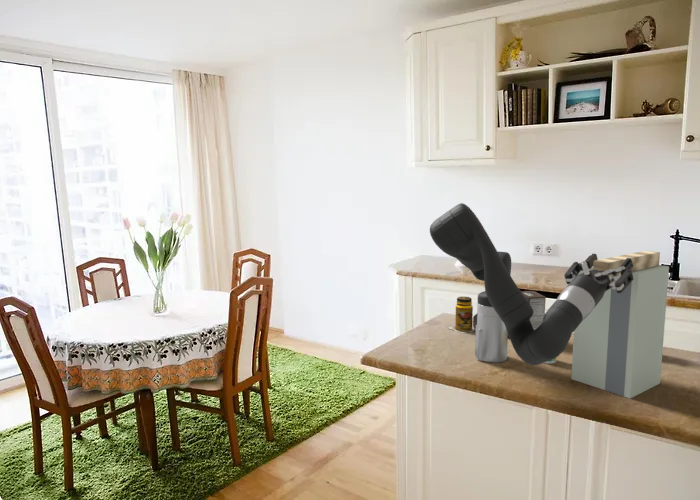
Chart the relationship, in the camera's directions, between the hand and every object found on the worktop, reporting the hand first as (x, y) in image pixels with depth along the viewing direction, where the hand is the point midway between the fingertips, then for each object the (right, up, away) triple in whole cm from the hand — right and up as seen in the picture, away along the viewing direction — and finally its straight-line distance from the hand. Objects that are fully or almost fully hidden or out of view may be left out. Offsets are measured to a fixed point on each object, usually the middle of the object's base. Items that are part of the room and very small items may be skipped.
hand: (612, 258), depth 127 cm
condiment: (-23, -27, +65) cm, 74 cm away
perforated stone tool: (-13, -28, +58) cm, 66 cm away
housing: (+9, -34, +15) cm, 38 cm away
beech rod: (+6, -3, +5) cm, 8 cm away
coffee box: (-2, -29, +52) cm, 59 cm away
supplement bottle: (-4, -32, +31) cm, 45 cm away
